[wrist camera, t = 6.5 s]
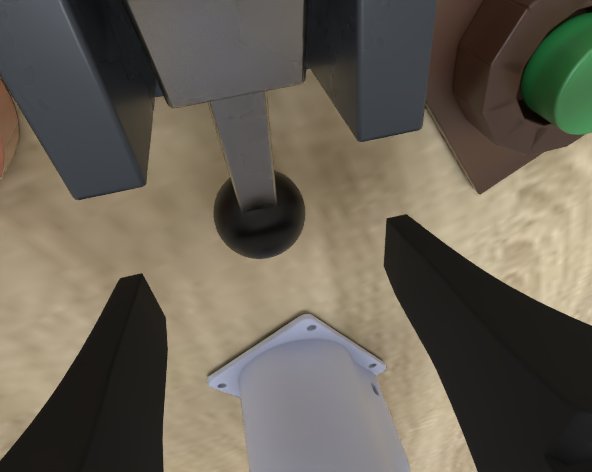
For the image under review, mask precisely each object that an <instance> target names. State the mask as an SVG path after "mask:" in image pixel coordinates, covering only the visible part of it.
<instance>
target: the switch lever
mask: <svg viewBox="0 0 592 472" xmlns="http://www.w3.org/2000/svg"><path fill="white" fill-rule="evenodd" d="M121 1H122V4H123V6H124V8H125V10H126V13H127V15H128V17H129V19H130V22H131V24H132V26H133V28H134V31H135V33H136V35H137V37H138V40H139V42H140V44H141V46H142V49H143V51H144V53H145V55H146V58H147V60H148V62H149V64H150V66H151V69H152V71H153V73H154V75H155V78H156V80H157V82H158V84H159V87H160V89H161V91H162V93H163V96H164V98H165V100H166V102H167V104H168V105H169V107H170V108H179V107H184V106H190V105H195V104H200V103H205V102H208V105H209V108H210V112H211V115H212V118H213V122H214V125H215V128H216V132H217V135H218V138H219V141H220V145H221V148H222V151H223V155H224V158H225V161H226V165H227V168H228V171H229V175H230V178H229V179H228V180H227V181H226V182H225V183H224V184H223V186H222V187H221V189H220V190H219V192H218V194H217V197H216V200H215V203H214V222H215V226H216V229H217V232H218V234H219V235H220V237H221V239H222V240H223V241H224V243H225V244H226V245H227V246H228V247H229V248H230V249H232V250H233V251H235V252H236V253H238V254H240V255H242V256H245V257H248V258H254V259H265V258H271V257H274V256H277V255H279V254H281V253H283V252H284V251H286V250H287V249H289V248H290V247H291V246H292V245H293V244H294V243H295V241H296V240H297V239H298V237H299V235H300V233H301V231H302V229H303V225H304V221H305V206H304V201H303V198H302V195H301V193H300V191H299V189H298V188H297V187H296V185H295V184H294V183H293V182H292V181H291V180H290V179H289V178H288V177H287V176H285V175H284V174H282V173H280V172H278V171H276V170H274V165H273V154H272V144H271V133H270V122H269V112H268V101H267V91H268V90H273V89H278V88H284V87H289V86H294V85H299V84H302V83H304V81H305V77H306V48H307V19H308V0H121Z"/></svg>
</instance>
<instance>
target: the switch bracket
mask: <svg viewBox="0 0 592 472" xmlns="http://www.w3.org/2000/svg"><path fill="white" fill-rule="evenodd" d="M436 7H437V0H308V19H307V48H306V69H311V71H312V72H313V74H314V75H315V77H316V78H317V80H318V81H319V83H320V84H321V86H322V87H323V89H324V91H325V92H326V94H327V95H328V97H329V98H330V100H331V101H332V103H333V104H334V106H335V107H336V109H337V110H338V112H339V113H340V115H341V116H342V118H343V119H344V121H345V122H346V124H347V125H348V127H349V128H350V130H351V132H352V133H353V135H354V136H355V138H356V139H357V141H359V142H364V141H369V140H374V139H379V138H384V137H389V136H393V135H398V134H403V133H408V132H413V131H418V130H420V129H421V128H422V126H423V117H424V109H425V100H426V92H427V83H428V75H429V67H430V58H431V50H432V41H433V33H434V24H435V16H436ZM0 76H1V78H2V80H3V81H4V83H5V85H6V86H7V88H8V90H9V91H10V93H11V95H12V96H13V98H14V100H15V101H16V103H17V105H18V106H19V108H20V110H21V111H22V113H23V115H24V116H25V118H26V120H27V121H28V123H29V125H30V126H31V128H32V130H33V131H34V133H35V135H36V136H37V138H38V140H39V141H40V143H41V145H42V146H43V148H44V150H45V151H46V153H47V155H48V156H49V158H50V160H51V161H52V163H53V165H54V166H55V168H56V170H57V171H58V173H59V175H60V176H61V178H62V180H63V181H64V183H65V185H66V186H67V188H68V190H69V191H70V193H71V195H72V196H73V198H74V199H76V200H82V199H86V198H91V197H96V196H101V195H106V194H111V193H115V192H120V191H125V190H130V189H135V188H140V187H143V186H145V185H146V180H147V170H148V160H149V150H150V141H151V131H152V121H153V111H154V101H155V98H156V97H161V96H163V93H162V91H161V89H160V87H159V84H158V82H157V80H156V78H155V75H154V73H153V71H152V69H151V66H150V64H149V62H148V60H147V58H146V55H145V53H144V51H143V49H142V46H141V44H140V42H139V40H138V37H137V35H136V33H135V31H134V28H133V26H132V24H131V22H130V19H129V17H128V15H127V13H126V10H125V8H124V6H123V4H122V1H121V0H0Z"/></svg>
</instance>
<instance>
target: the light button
mask: <svg viewBox="0 0 592 472" xmlns="http://www.w3.org/2000/svg"><path fill="white" fill-rule="evenodd" d="M521 91H522V96H523V100H524V102H525V104H526V105H527V106H528V107H529V108H530V109H531V110H533V111H534V112H535V113H537V114H538V115H540V116H541V117H543V118H544V119H546V120H547V121H549V122H550V123H552V124H553V125H555V126H556V127H557V128H559V129H560V130H562V131H564V132H566V133H569V134H576V135H580V134H587V133H591V132H592V12H590V13H584V14H581V15H578V16H575V17H573V18H571V19H569V20H567V21H565V22H564V23H562V24H561V25H559V26H558V27H557V28H555V29H554V30H553V31H552V32H551V33H550V34H549V35H548V36H547V37H546V38H545V39H544V40H543V41H542V42H541V43H540V45H539V46H538V48H537V49H536V50H535V52H534V53H533V55H532V56H531V58H530V60H529V61H528V63H527V66H526V68H525V71H524V74H523V78H522V85H521Z"/></svg>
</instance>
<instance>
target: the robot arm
mask: <svg viewBox="0 0 592 472" xmlns="http://www.w3.org/2000/svg"><path fill="white" fill-rule="evenodd" d="M384 268H385V270H386V273H387V275H388V278H389V281H390V283H391V285H392V288H393V290H394V293H395V295H396V297H397V299H398V301H399V302H400V304H401V306H402V308H403V310H404V311H405V313H406V315H407V317H408V319H409V320H410V322H411V324H412V326H413V328H414V329H415V331H416V333H417V335H418V337H419V338H420V340H421V342H422V344H423V345H424V347H425V349H426V351H427V353H428V354H429V356H430V358H431V360H432V362H433V364H434V366H435V368H436V370H437V372H438V375H439V377H440V379H441V382H442V384H443V386H444V388H445V391H446V393H447V395H448V398H449V400H450V402H451V405H452V407H453V410H454V412H455V415H456V417H457V419H458V422H459V424H460V427H461V429H462V432H463V434H464V437H465V439H466V442H467V445H468V447H469V450H470V452H471V455H472V458H473V460H474V463H475V465H476V468H477V471H478V472H592V326H591V325H589V324H586V323H584V322H582V321H579V320H577V319H575V318H572V317H570V316H568V315H566V314H564V313H561V312H559V311H557V310H555V309H553V308H551V307H548V306H546V305H544V304H542V303H540V302H538V301H536V300H534V299H532V298H530V297H529V296H527V295H525V294H523V293H521V292H519V291H518V290H516V289H514V288H512V287H510V286H508V285H507V284H505V283H503V282H502V281H500V280H498V279H497V278H495V277H493V276H492V275H490V274H489V273H487V272H485V271H484V270H482V269H481V268H479V267H478V266H476V265H475V264H473V263H472V262H470V261H469V260H467V259H466V258H464V257H463V256H462V255H460V254H459V253H457V252H456V251H455V250H453V249H452V248H450V247H449V246H448V245H446V244H445V243H444V242H442V241H441V240H440V239H438V238H437V237H436V236H434V235H433V234H432V233H430V232H429V231H428V230H426V229H425V228H424V227H423V226H421V225H420V224H419V223H417V222H416V221H415V220H413V219H412V218H411V217H409V216H408V215H407V214H405V215H400V216H396V217H391V218H387V221H386V238H385V255H384ZM167 353H168V347H167V330H166V317H165V315H164V313H163V311H162V309H161V308H160V306H159V304H158V302H157V300H156V298H155V296H154V295H153V293H152V291H151V289H150V287H149V285H148V283H147V281H146V280H145V278H144V276H143V274H142V273H141V274H137V275H132V276H128V277H123V278H120V279H119V281H118V283H117V284H116V286H115V288H114V290H113V292H112V294H111V296H110V298H109V300H108V302H107V304H106V306H105V307H104V309H103V311H102V313H101V315H100V317H99V319H98V321H97V322H96V324H95V326H94V328H93V330H92V331H91V333H90V335H89V337H88V338H87V340H86V342H85V344H84V345H83V347H82V349H81V350H80V352H79V354H78V355H77V357H76V359H75V360H74V362H73V363H72V365H71V367H70V368H69V370H68V371H67V373H66V374H65V376H64V378H63V379H62V381H61V382H60V384H59V385H58V387H57V388H56V390H55V391H54V393H53V394H52V395H51V397H50V398H49V400H48V401H47V402H46V404H45V405H44V407H43V408H42V409H41V411H40V412H39V413H38V415H37V416H36V417H35V419H34V420H33V421H32V423H31V424H30V425H29V426H28V428H27V429H26V430H25V431H24V433H23V434H22V435H21V436H20V438H19V439H18V440H17V441H16V443H15V444H14V445H13V446H12V447H11V449H10V450H9V451H8V452H7V453H6V455H5V456H4V457H3V458H2V459H1V461H0V472H164V470H163V441H162V439H163V415H164V400H165V385H166V370H167ZM385 370H386V365H385V363H384V362H383V361H381V360H380V359H378V358H377V357H375V356H374V355H372V354H371V353H369V352H368V351H366V350H365V349H363V348H361V347H360V346H358V345H357V344H355V343H354V342H352V341H351V340H349V339H348V338H346V337H345V336H343V335H342V334H340V333H339V332H337V331H336V330H334V329H333V328H331V327H330V326H328V325H326V324H325V323H323V322H322V321H320V320H319V319H317V318H316V317H314V316H313V315H311V314H303V315H301V316H299V317H297V318H296V319H294V320H293V321H291V322H290V323H288V324H287V325H285V326H284V327H282V328H281V329H279V330H278V331H276V332H275V333H273V334H272V335H270V336H269V337H267V338H266V339H264V340H263V341H261V342H260V343H258V344H257V345H255V346H254V347H252V348H251V349H249V350H248V351H246V352H245V353H243V354H242V355H240V356H239V357H237V358H236V359H234V360H233V361H231V362H230V363H228V364H227V365H225V366H224V367H222V368H221V369H219V370H218V371H216V372H214V373H213V374H211V375H210V376H209V377H208V379H207V384H208V386H210V387H212V388H215V389H218V390H220V391H223V392H226V393H228V394H231V395H234V396H237V397H239V398H241V405H242V414H243V422H244V431H245V439H246V448H247V456H248V465H249V472H410V466H409V462H408V458H407V455H406V453H405V450H404V448H403V445H402V442H401V440H400V437H399V435H398V432H397V430H396V427H395V424H394V422H393V419H392V417H391V414H390V412H389V409H388V406H387V404H386V401H385V399H384V396H383V394H382V391H381V388H380V386H379V383H378V381H377V378H376V376H377V375H379V374H380V373H382V372H384V371H385Z"/></svg>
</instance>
